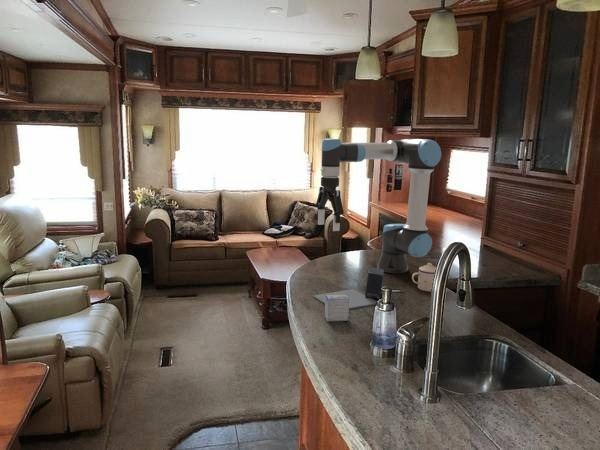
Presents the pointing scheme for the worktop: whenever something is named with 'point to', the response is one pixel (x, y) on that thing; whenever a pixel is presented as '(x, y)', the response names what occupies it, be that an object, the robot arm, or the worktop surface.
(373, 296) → the small box
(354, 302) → the slate mat
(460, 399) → the worktop surface
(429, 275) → the teacup with lid
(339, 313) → the medicine box
